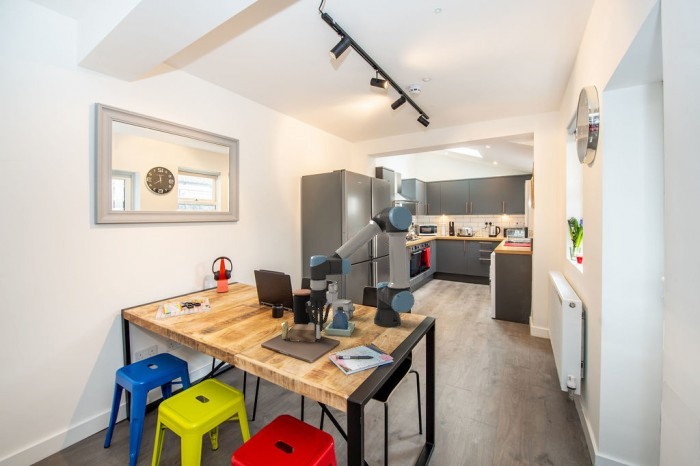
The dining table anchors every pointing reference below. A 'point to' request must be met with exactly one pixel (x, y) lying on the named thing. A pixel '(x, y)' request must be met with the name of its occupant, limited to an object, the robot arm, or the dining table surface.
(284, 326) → the bench dog
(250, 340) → the dining table surface
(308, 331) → the brown wooden block
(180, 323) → the dining table surface
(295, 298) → the coffee jar
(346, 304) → the toy llama
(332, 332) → the tray
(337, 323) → the perfume bottle
